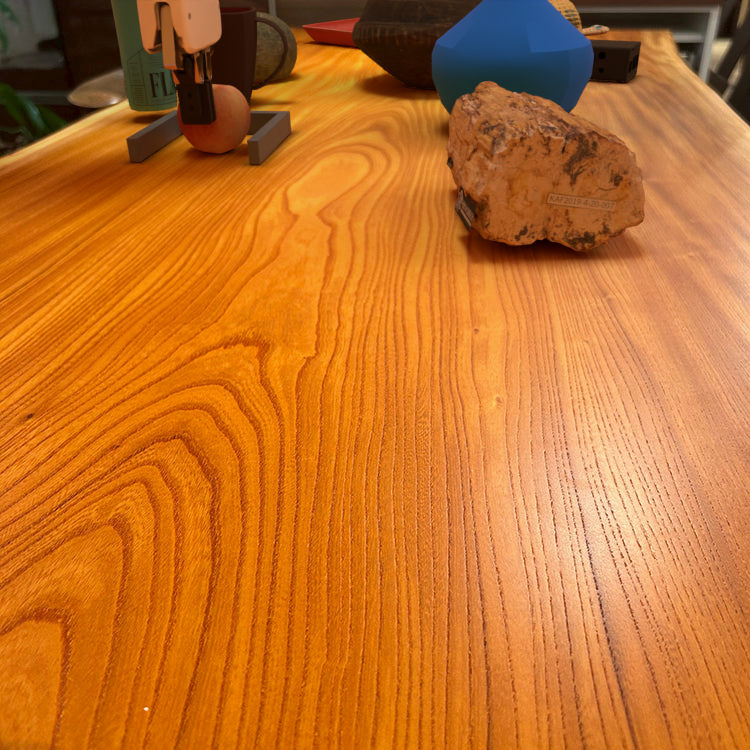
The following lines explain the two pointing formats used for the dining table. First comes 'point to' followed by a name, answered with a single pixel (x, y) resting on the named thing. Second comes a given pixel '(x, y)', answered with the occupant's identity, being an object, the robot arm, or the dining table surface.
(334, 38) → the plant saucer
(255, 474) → the dining table surface
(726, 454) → the dining table surface
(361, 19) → the ceramic pot
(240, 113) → the apple
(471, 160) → the petrified wood
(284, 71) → the grey green rounded stone
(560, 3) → the decorative figurine
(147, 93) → the beverage bottle
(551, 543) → the dining table surface
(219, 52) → the mug
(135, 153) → the bay
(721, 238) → the dining table surface
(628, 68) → the electronic device
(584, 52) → the vase
